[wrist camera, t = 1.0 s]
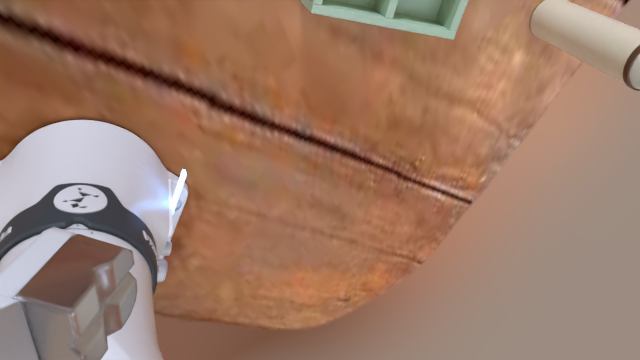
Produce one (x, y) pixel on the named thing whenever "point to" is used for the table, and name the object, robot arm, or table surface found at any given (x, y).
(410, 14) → the compartment tray
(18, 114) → the table surface
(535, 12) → the capped cylinder
